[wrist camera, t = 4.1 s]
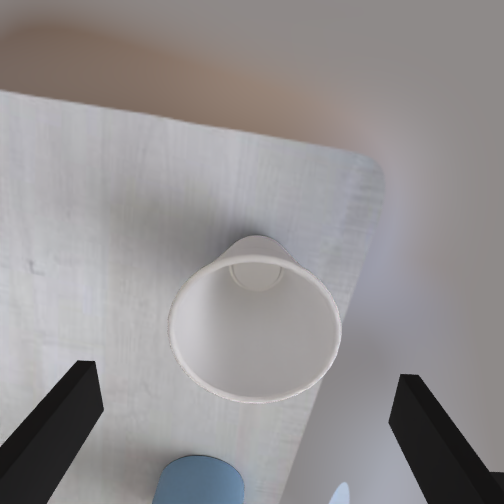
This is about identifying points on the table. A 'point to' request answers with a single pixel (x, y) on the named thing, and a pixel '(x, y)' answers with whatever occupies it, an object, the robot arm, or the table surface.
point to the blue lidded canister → (199, 482)
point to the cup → (254, 324)
